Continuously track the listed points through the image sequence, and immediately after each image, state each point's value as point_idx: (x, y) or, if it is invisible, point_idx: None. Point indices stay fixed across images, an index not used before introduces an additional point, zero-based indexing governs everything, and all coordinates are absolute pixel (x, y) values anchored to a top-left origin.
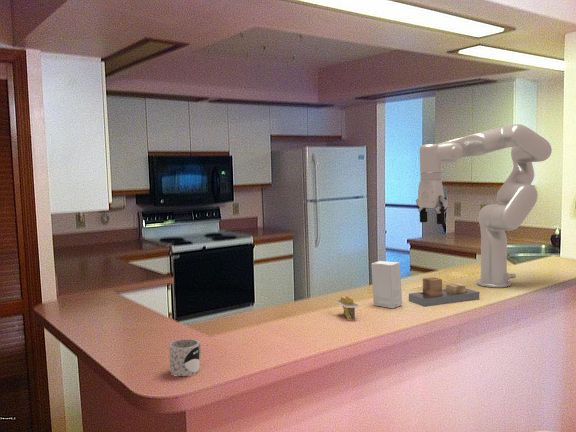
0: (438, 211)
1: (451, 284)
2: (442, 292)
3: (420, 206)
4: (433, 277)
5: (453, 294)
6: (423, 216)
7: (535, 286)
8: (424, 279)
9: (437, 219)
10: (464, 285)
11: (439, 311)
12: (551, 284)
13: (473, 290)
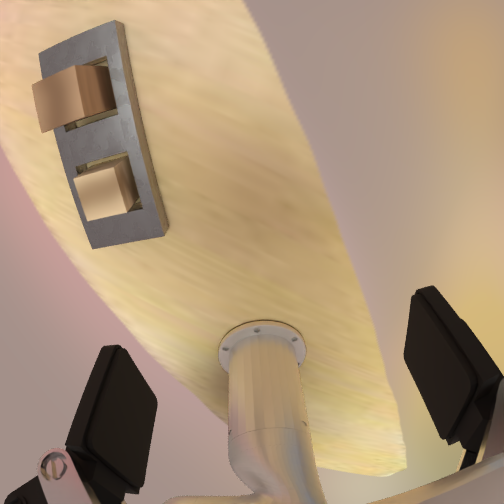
0: (57, 472)
1: (106, 183)
2: (100, 137)
3: (483, 480)
4: (77, 112)
5: (71, 161)
6: (437, 367)
7: (215, 400)
8: (66, 69)
9: (88, 382)
10: (86, 217)
11: (4, 82)
12: (225, 423)
13: (113, 244)
